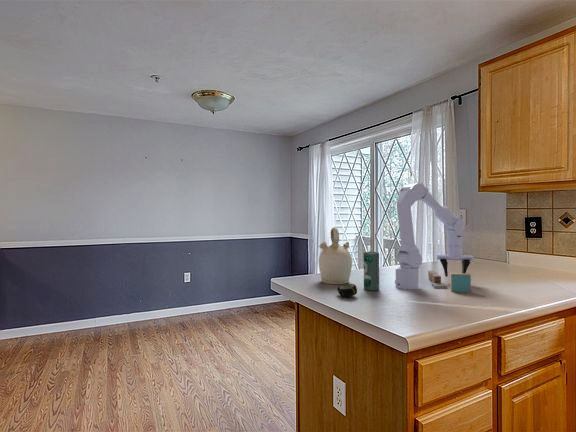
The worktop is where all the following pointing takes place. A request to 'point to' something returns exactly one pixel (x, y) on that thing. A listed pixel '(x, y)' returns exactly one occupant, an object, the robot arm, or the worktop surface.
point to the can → (371, 270)
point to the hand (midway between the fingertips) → (454, 276)
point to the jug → (335, 261)
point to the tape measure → (347, 290)
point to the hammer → (436, 280)
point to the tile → (460, 282)
